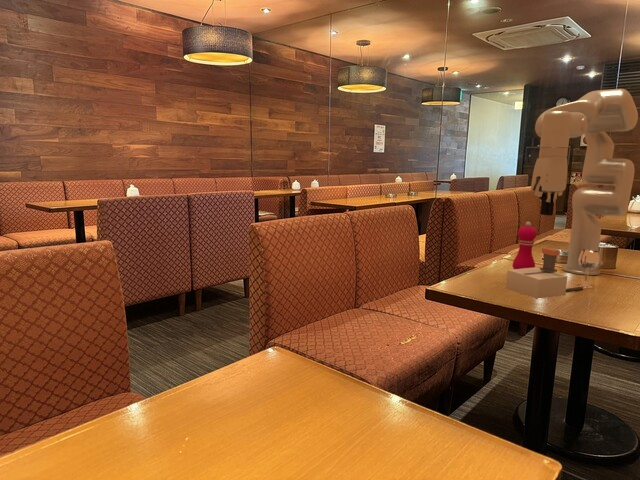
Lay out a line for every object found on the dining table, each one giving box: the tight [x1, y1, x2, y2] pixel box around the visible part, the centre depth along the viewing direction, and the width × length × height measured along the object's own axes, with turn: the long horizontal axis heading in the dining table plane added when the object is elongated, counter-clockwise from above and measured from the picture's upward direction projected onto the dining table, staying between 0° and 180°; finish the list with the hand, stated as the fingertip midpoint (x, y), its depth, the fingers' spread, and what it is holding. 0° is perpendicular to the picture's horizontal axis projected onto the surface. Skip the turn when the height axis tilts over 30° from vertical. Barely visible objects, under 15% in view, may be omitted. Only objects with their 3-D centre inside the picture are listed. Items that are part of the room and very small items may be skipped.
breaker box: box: [505, 266, 584, 300], centre depth 143 cm, size 22×12×6 cm, turn 114°
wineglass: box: [577, 250, 600, 289], centre depth 148 cm, size 6×6×12 cm
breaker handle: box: [539, 247, 561, 273], centre depth 141 cm, size 3×4×7 cm
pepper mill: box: [511, 221, 538, 269], centre depth 156 cm, size 7×7×20 cm
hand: (546, 214), depth 137 cm, fingers closed
